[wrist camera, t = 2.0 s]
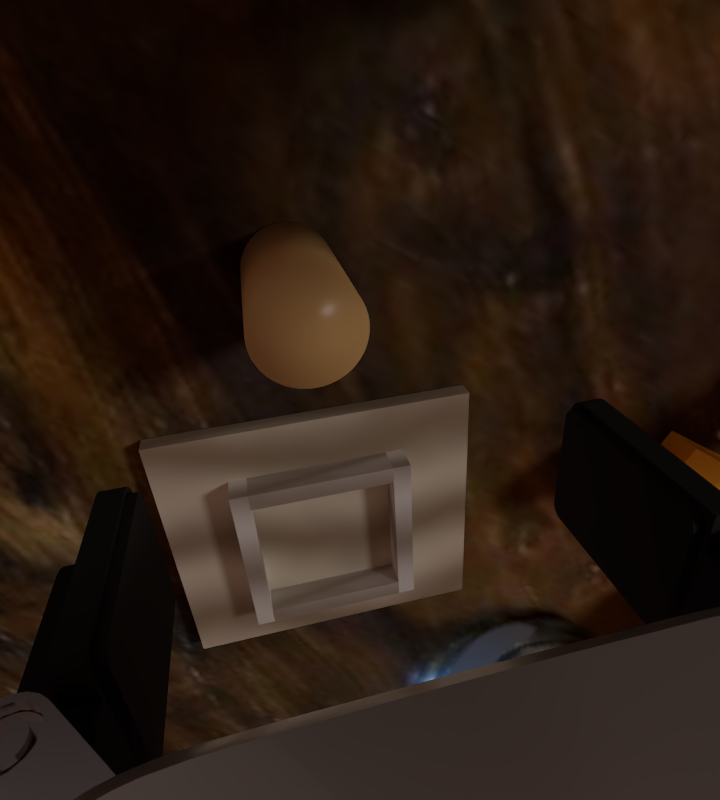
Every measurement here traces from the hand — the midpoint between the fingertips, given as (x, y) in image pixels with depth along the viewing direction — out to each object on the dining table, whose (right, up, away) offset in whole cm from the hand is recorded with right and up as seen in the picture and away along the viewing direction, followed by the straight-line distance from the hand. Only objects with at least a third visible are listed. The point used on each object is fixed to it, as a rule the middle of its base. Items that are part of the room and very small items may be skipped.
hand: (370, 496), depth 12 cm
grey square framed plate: (-3, -5, +23) cm, 23 cm away
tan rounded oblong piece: (-4, +8, +15) cm, 17 cm away
